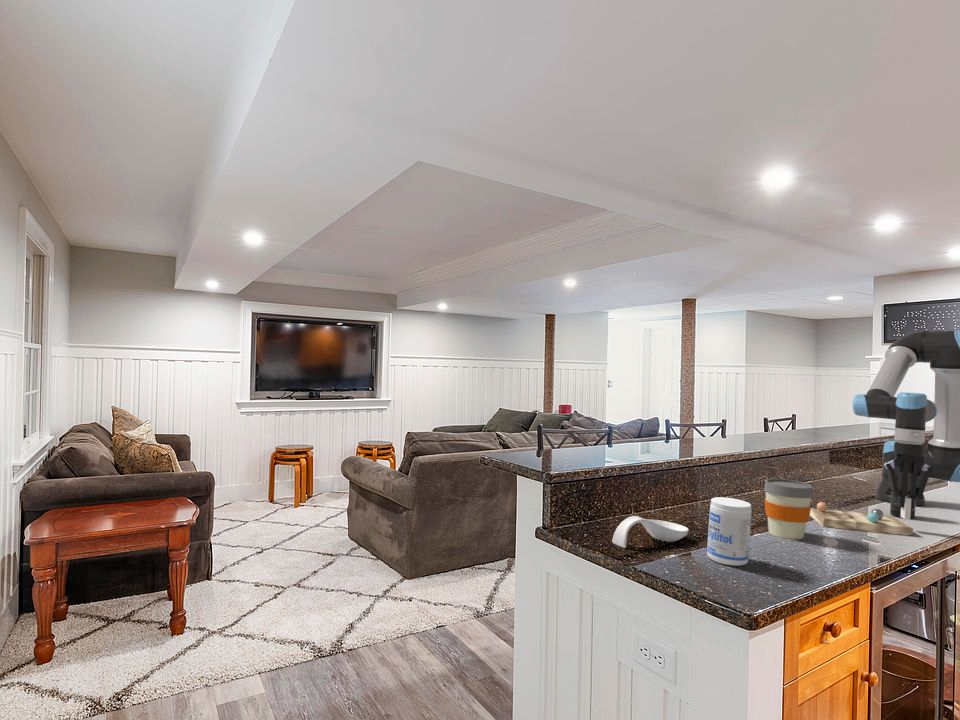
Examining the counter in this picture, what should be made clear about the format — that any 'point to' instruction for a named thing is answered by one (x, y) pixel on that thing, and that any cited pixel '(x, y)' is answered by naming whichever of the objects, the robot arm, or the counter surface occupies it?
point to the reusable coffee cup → (787, 507)
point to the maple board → (860, 522)
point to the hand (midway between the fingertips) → (905, 518)
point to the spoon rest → (649, 530)
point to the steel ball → (878, 513)
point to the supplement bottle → (894, 507)
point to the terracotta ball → (822, 506)
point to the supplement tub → (729, 531)
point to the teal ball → (872, 517)
